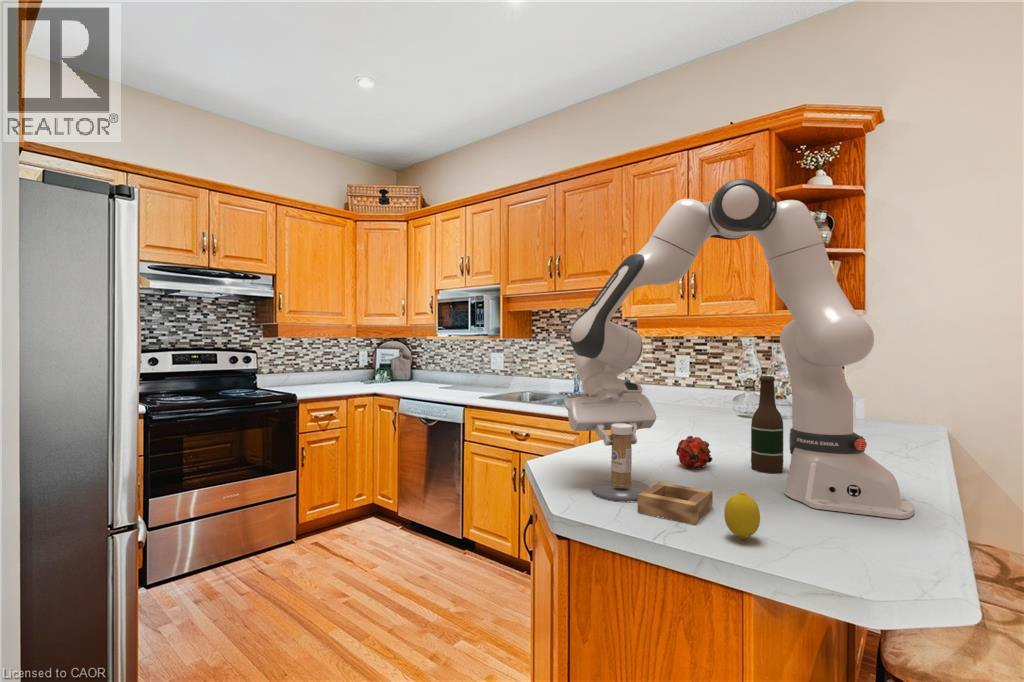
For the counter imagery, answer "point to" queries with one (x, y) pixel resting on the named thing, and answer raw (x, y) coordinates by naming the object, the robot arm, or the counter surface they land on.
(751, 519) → the lemon
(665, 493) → the frame
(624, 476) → the sprinkles bottle
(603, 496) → the slate coaster
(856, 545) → the counter surface
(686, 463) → the dragon fruit
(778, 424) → the beer bottle
